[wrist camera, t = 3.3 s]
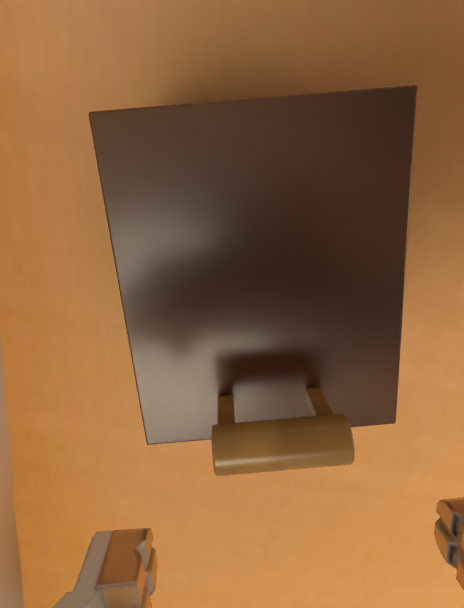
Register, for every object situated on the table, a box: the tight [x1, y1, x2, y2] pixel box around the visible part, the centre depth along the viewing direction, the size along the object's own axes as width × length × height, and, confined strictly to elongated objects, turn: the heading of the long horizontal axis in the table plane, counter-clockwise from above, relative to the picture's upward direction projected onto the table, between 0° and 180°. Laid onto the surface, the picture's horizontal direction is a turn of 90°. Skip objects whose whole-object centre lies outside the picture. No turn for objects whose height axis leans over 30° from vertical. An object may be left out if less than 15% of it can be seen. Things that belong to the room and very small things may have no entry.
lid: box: [89, 85, 417, 476], centre depth 14 cm, size 14×12×5 cm
